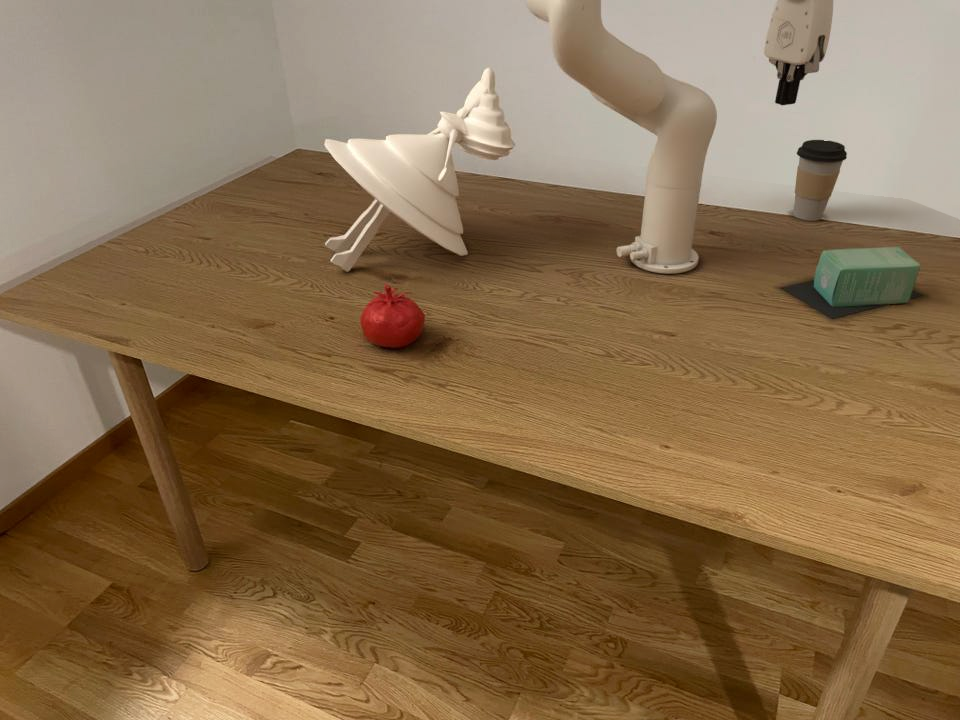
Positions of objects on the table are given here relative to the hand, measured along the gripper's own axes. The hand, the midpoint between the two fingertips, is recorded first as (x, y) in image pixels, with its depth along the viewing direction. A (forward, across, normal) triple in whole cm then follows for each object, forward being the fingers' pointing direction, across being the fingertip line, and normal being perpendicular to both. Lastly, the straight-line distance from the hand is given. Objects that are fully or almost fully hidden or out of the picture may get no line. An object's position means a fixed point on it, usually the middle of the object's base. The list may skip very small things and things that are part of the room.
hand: (785, 103), depth 127 cm
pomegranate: (+27, +5, -75) cm, 80 cm away
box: (+27, +24, +2) cm, 36 cm away
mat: (+27, +22, +2) cm, 35 cm away
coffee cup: (+27, -8, +20) cm, 35 cm away
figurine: (+27, -25, -61) cm, 71 cm away
